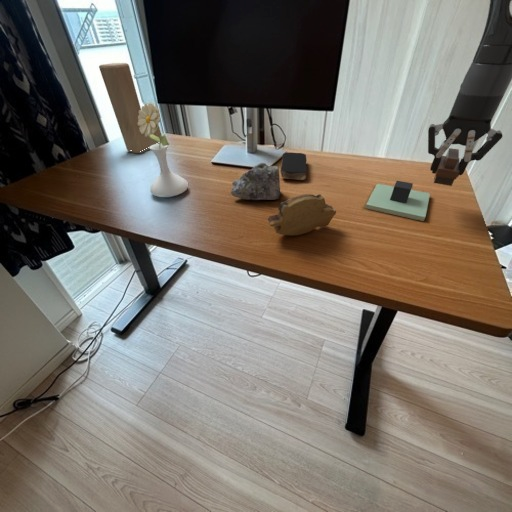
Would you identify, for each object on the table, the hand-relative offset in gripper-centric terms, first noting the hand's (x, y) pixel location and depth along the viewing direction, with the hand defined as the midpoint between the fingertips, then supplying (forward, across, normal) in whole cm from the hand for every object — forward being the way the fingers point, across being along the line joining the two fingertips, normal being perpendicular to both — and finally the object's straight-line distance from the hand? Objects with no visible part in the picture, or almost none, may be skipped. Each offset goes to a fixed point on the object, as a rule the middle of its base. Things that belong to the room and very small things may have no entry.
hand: (444, 173), depth 64 cm
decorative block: (+10, -110, +4) cm, 110 cm away
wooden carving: (+10, -26, -25) cm, 37 cm away
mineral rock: (+10, -44, -14) cm, 47 cm away
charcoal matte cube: (+9, -8, 0) cm, 12 cm away
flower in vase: (+10, -69, -24) cm, 73 cm away
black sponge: (+10, -42, +7) cm, 44 cm away
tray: (+10, -8, 0) cm, 12 cm away
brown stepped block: (+1, 0, 0) cm, 1 cm away
